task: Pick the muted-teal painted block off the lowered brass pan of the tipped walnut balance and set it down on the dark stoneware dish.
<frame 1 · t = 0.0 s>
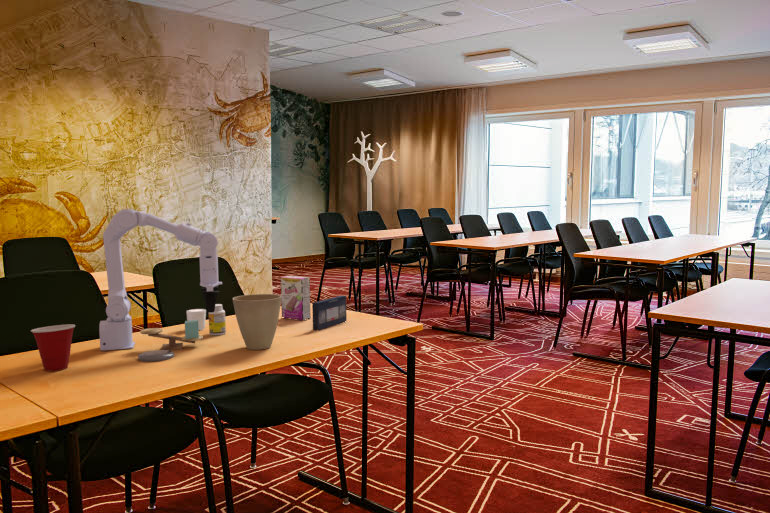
hand: (210, 310, 202), 10 cm above the table, fingers open, 7 cm apart
plastic cup: (55, 369, 170), on the table
balance: (172, 348, 193), on the table
white cup: (197, 329, 222), on the table
supplement bottle: (217, 334, 213), on the table
candy bar box: (296, 319, 240), on the table
dish: (156, 357, 182), on the table
vhs cassette tape: (330, 326, 225), on the table
block: (192, 337, 195), point 3 cm above the table, touching balance
plant pot: (258, 347, 193), on the table
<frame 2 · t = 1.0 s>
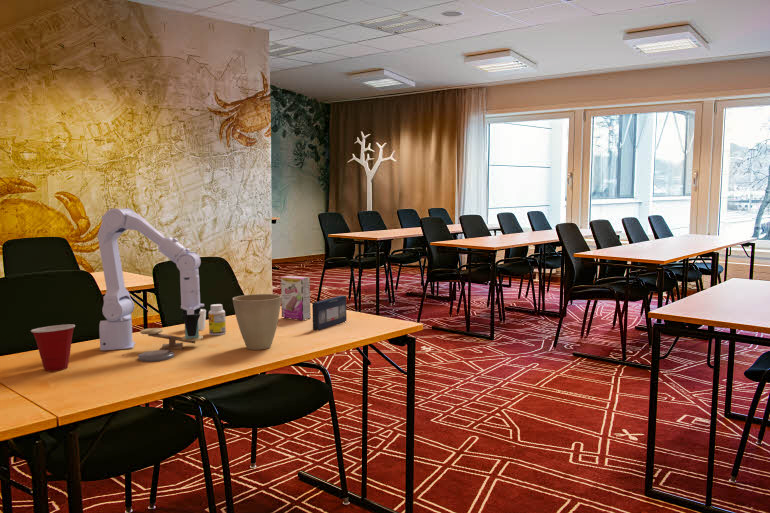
hand: (192, 333, 194), 4 cm above the table, fingers open, 7 cm apart
nothing on the table moved.
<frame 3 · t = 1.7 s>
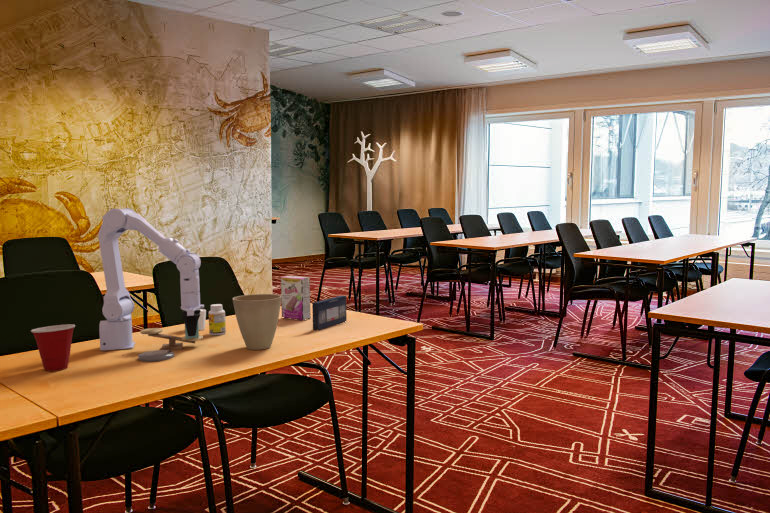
hand: (192, 334, 194), 4 cm above the table, fingers closed on block, 4 cm apart
block: (192, 337, 195), point 3 cm above the table, touching balance, gripper
everything else where it was.
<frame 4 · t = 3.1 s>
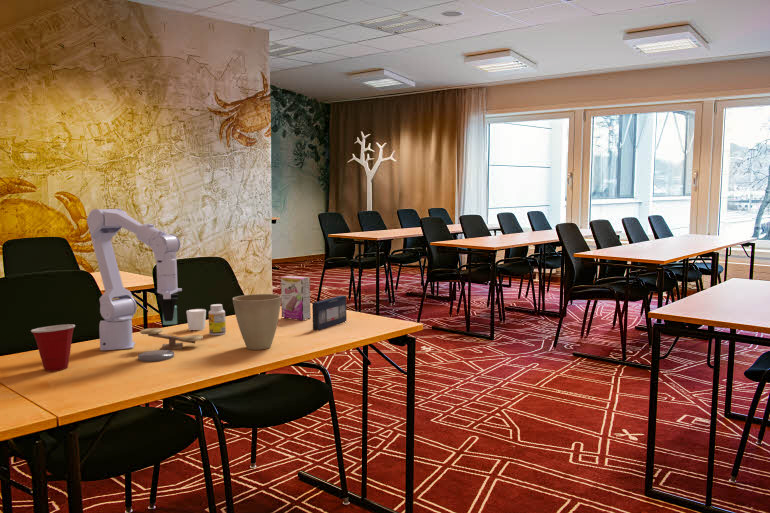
hand: (169, 319, 186), 10 cm above the table, fingers closed on block, 4 cm apart
block: (170, 323, 186), point 9 cm above the table, touching gripper
everything else where it was.
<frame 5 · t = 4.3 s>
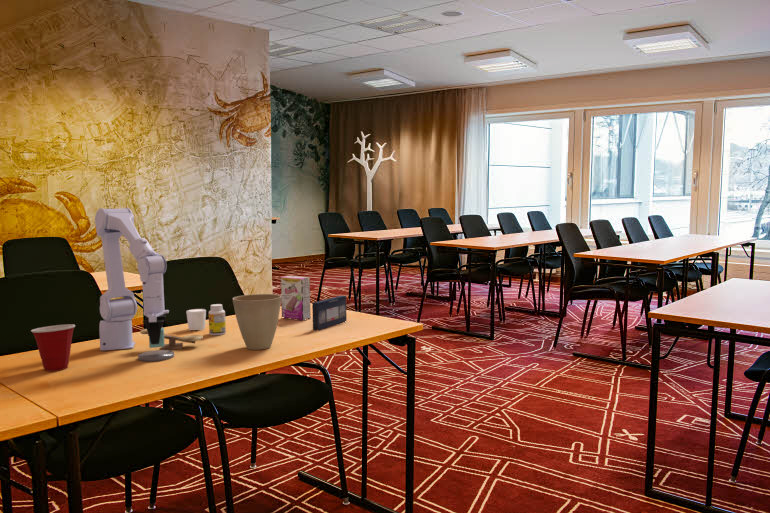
hand: (155, 342, 181), 5 cm above the table, fingers closed on block, 4 cm apart
block: (157, 345, 181), point 3 cm above the table, touching gripper
everything else where it was.
when the fingers open (4 cm above the table, at t = 4.9 s): block drops 1 cm, resting on dish.
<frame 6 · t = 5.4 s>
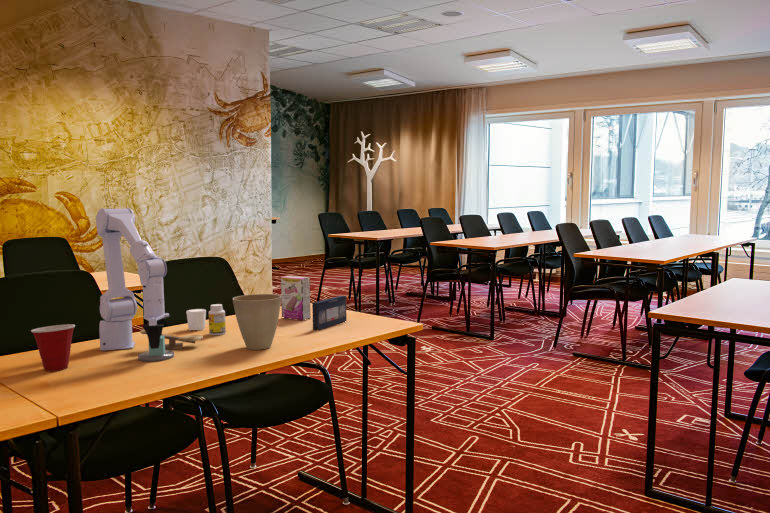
hand: (155, 345, 181), 4 cm above the table, fingers open, 7 cm apart
block: (157, 354, 181), point 1 cm above the table, touching dish
everything else where it was.
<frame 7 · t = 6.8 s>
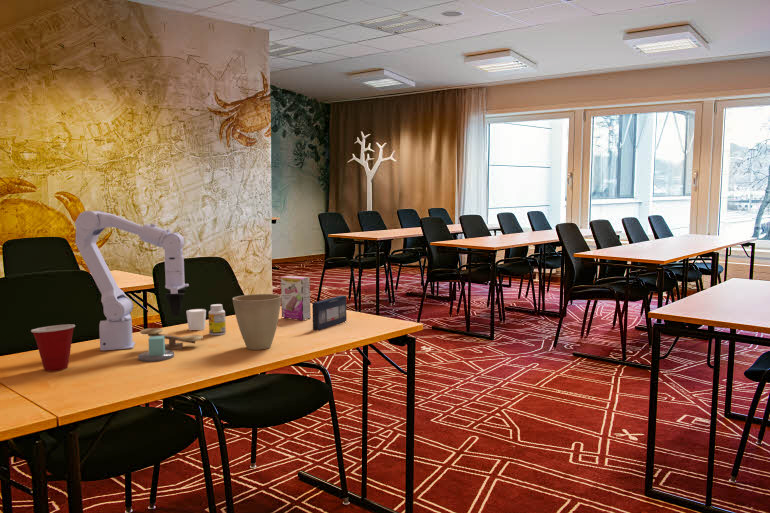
hand: (176, 313, 196), 10 cm above the table, fingers open, 7 cm apart
nothing on the table moved.
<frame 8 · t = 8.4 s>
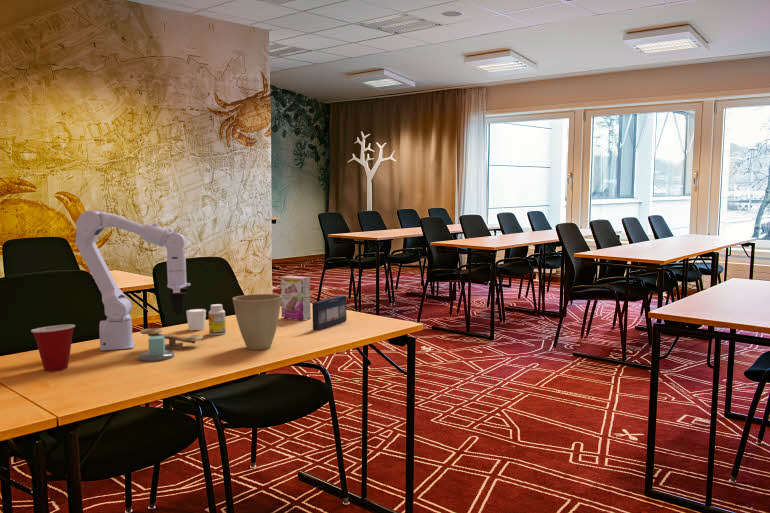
hand: (178, 312, 198), 10 cm above the table, fingers open, 7 cm apart
nothing on the table moved.
at the end: block inside the target area on the dish (0.3 cm from its centre), point 1.0 cm above the dish's base; block tilted 0°; the gripper is holding nothing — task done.
